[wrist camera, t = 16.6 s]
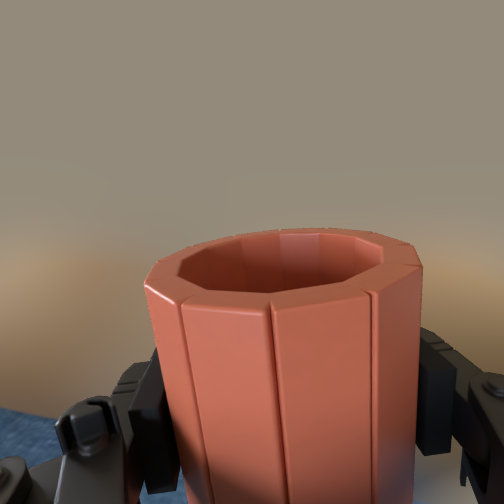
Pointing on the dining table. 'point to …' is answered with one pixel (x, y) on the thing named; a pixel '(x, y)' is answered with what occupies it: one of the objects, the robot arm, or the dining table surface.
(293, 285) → the orange hollow tube
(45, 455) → the dining table surface
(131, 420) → the robot arm
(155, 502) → the dining table surface
